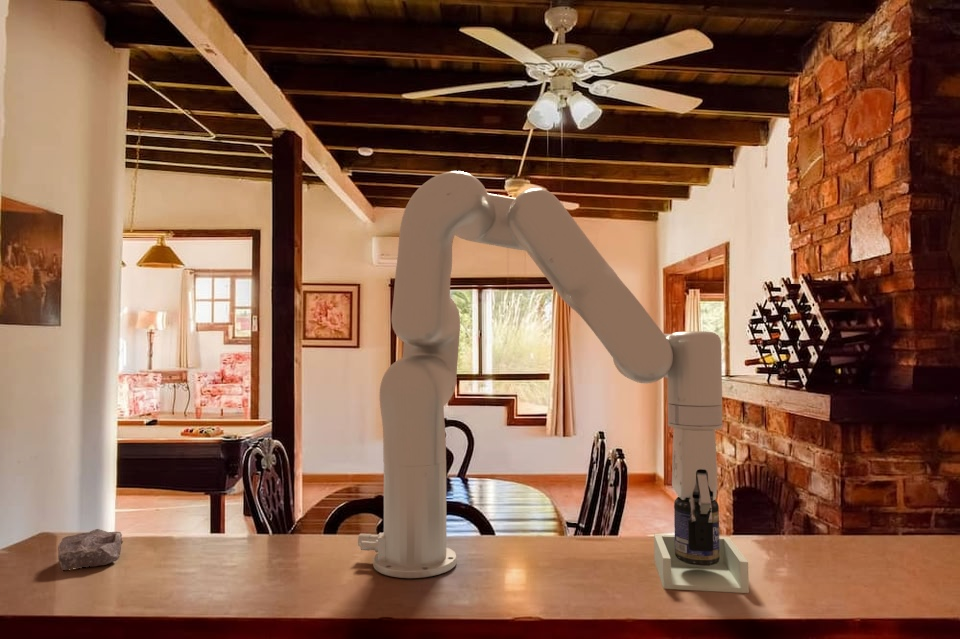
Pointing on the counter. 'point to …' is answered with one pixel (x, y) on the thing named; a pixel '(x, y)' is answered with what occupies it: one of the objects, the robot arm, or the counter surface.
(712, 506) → the pill bottle
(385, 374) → the robot arm
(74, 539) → the rock
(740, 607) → the counter surface
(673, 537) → the holder
